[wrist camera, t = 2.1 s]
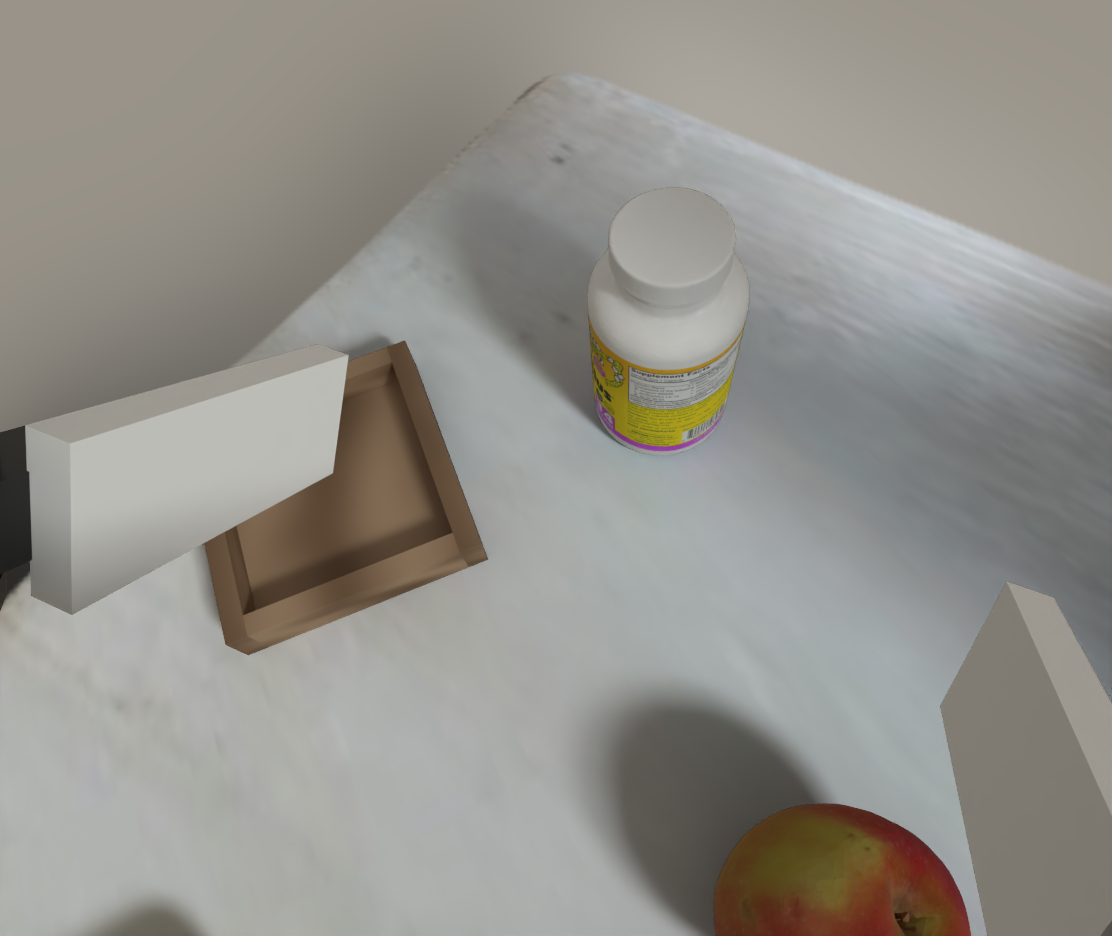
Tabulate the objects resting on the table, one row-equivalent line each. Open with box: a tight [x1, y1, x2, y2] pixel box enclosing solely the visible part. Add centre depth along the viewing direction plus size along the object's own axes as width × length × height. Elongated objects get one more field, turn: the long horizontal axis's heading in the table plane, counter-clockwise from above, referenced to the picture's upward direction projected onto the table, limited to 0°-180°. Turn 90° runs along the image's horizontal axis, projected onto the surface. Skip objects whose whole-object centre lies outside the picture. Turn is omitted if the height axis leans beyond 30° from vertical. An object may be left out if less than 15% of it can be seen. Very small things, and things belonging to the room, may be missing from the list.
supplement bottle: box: [587, 187, 750, 455], centre depth 35 cm, size 7×7×13 cm
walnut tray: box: [205, 341, 488, 655], centre depth 39 cm, size 12×12×2 cm
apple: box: [714, 804, 971, 936], centre depth 27 cm, size 8×8×8 cm
